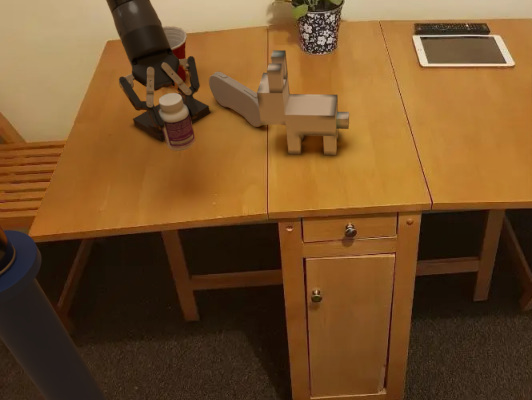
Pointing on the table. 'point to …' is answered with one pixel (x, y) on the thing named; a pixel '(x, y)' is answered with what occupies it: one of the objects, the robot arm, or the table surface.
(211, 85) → the game controller
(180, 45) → the plastic cup
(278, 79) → the toy llama
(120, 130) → the table surface
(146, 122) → the scale
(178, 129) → the pill bottle
